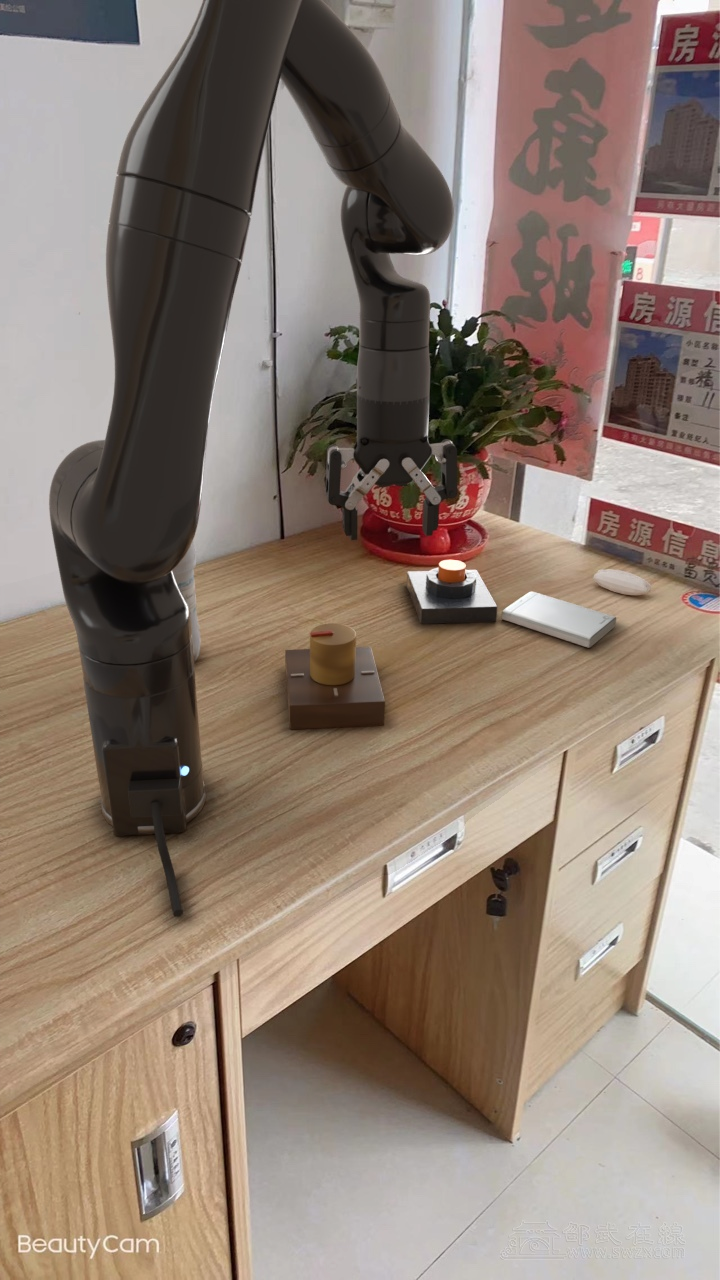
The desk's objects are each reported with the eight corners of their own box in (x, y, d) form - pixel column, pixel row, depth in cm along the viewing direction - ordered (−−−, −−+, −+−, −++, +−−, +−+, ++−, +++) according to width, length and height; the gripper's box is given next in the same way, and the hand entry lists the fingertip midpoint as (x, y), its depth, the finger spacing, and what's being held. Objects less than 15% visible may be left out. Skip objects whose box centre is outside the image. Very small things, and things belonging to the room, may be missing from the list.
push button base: (495, 621, 116) (498, 594, 114) (420, 624, 115) (422, 596, 113) (475, 583, 126) (477, 557, 124) (406, 585, 125) (407, 559, 123)
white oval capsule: (597, 580, 128) (600, 562, 127) (651, 595, 124) (654, 576, 123) (588, 587, 126) (591, 569, 125) (643, 602, 122) (646, 584, 121)
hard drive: (617, 615, 115) (532, 589, 121) (590, 638, 109) (502, 609, 115) (615, 627, 115) (530, 599, 122) (588, 650, 110) (500, 620, 116)
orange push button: (467, 584, 117) (468, 569, 116) (440, 584, 117) (441, 570, 116) (461, 573, 121) (462, 559, 120) (435, 573, 120) (436, 559, 119)
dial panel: (384, 725, 94) (385, 700, 92) (289, 729, 93) (289, 704, 91) (370, 668, 104) (371, 645, 103) (285, 672, 103) (285, 648, 102)
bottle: (191, 676, 102) (178, 512, 92) (137, 669, 103) (118, 506, 93) (211, 649, 108) (200, 492, 98) (159, 643, 109) (144, 487, 99)
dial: (349, 660, 100) (350, 618, 97) (360, 682, 96) (361, 639, 93) (305, 665, 99) (305, 623, 96) (315, 688, 94) (315, 644, 92)
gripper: (329, 401, 87) (332, 553, 95) (469, 395, 89) (460, 544, 97) (320, 384, 93) (323, 527, 101) (450, 378, 95) (443, 519, 103)
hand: (390, 535), depth 99 cm, fingers open, 8 cm apart
